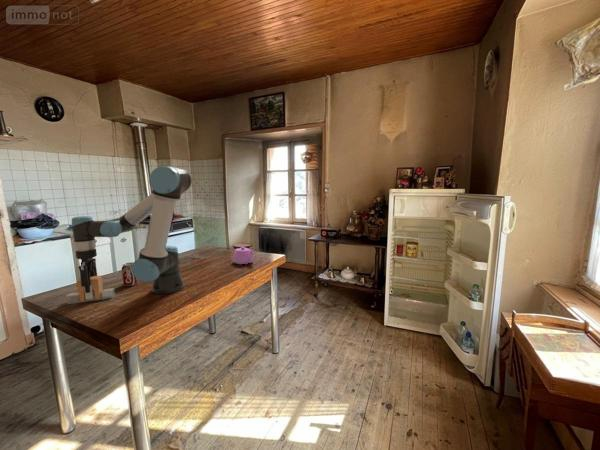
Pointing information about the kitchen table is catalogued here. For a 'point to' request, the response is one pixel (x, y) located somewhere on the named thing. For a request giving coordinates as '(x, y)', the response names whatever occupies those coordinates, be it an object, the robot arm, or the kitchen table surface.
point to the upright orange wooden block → (96, 285)
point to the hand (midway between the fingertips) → (91, 296)
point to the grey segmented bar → (105, 295)
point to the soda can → (128, 275)
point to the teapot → (243, 256)
